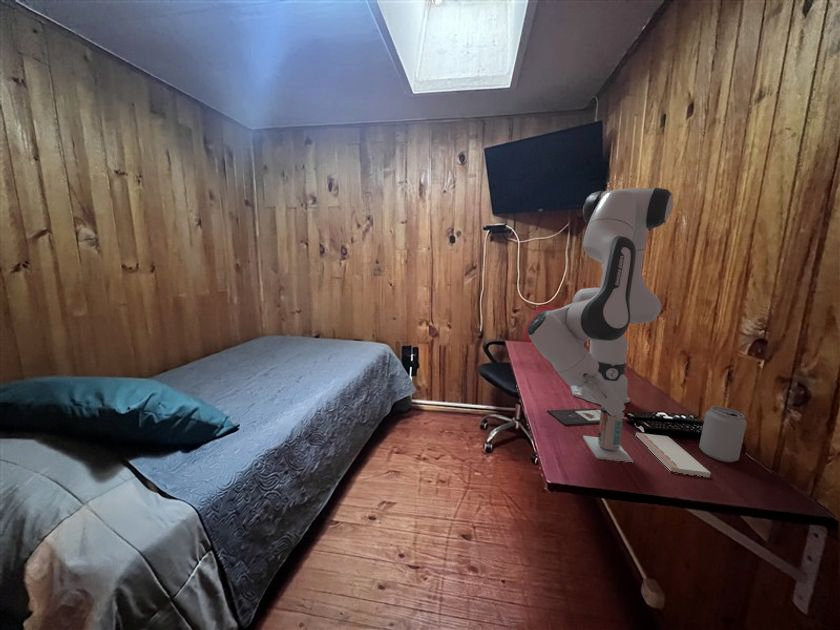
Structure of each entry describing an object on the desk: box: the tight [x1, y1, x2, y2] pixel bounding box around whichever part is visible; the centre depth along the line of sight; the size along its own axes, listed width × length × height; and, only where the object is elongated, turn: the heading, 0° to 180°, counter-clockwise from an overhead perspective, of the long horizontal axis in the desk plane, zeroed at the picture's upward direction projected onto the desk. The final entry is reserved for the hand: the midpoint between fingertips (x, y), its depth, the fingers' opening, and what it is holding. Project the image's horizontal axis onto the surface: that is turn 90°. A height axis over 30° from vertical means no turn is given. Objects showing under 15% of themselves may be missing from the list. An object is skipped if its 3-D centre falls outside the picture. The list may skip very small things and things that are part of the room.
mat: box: [582, 435, 634, 464], centre depth 83 cm, size 10×8×1 cm
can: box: [698, 405, 747, 463], centre depth 82 cm, size 8×8×12 cm
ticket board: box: [635, 431, 711, 478], centre depth 81 cm, size 16×8×1 cm, turn 171°
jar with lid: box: [598, 405, 624, 450], centre depth 81 cm, size 5×5×12 cm
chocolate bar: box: [546, 407, 601, 427], centre depth 100 cm, size 9×1×18 cm
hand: (614, 410), depth 81 cm, fingers closed on jar with lid, 5 cm apart
